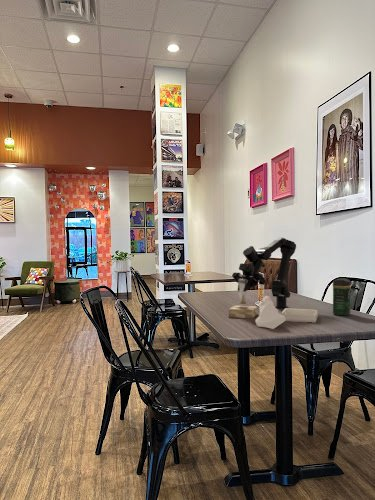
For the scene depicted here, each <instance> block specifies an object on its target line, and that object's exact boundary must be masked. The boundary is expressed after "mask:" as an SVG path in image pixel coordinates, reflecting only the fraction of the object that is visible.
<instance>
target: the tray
mask: <svg viewBox="0 0 375 500" xmlns="http://www.w3.org/2000/svg"><path fill="white" fill-rule="evenodd" d="M280 314H281V315H283V316H285V319H286V321H285V322H293V323H294V322H295V323H307V322H312V323H311V324H316V323H317V320H318V317H319V314H318V309H309V308H308V309H307V308H306V309H305V308H288V307H287V308H283V310H282V312H281V313H280Z"/></svg>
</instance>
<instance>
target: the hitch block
mask: <svg viewBox="0 0 375 500" xmlns="http://www.w3.org/2000/svg"><path fill="white" fill-rule="evenodd" d="M257 315H258V306H255V305H253V306H252V305H233V306H232V307H230V308H229V309H228V318H241V319H242V318H243V319H253V318H255V317H256V316H257Z"/></svg>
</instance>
